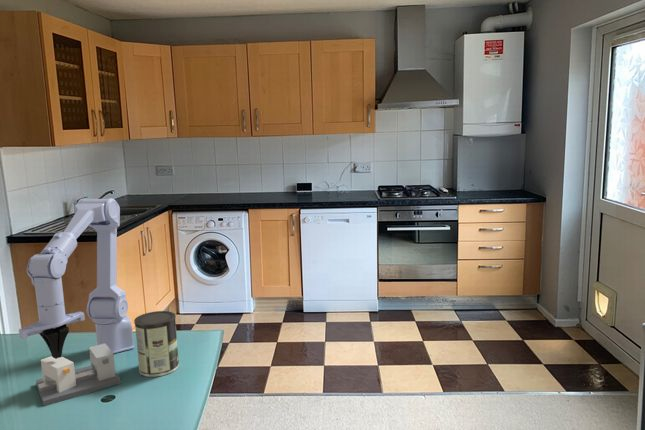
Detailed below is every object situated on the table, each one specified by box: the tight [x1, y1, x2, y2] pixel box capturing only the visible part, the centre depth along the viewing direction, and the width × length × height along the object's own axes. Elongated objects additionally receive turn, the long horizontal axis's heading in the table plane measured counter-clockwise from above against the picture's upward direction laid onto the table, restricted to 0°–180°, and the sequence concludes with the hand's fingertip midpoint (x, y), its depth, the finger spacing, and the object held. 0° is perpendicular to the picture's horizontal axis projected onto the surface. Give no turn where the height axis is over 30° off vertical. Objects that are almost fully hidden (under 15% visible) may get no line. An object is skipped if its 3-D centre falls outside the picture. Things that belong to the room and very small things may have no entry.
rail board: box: [35, 343, 121, 407], centre depth 127 cm, size 17×13×7 cm
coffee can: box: [133, 310, 180, 378], centre depth 134 cm, size 10×10×14 cm
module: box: [40, 355, 76, 392], centre depth 125 cm, size 4×9×6 cm, turn 52°
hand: (56, 356), depth 124 cm, fingers closed
